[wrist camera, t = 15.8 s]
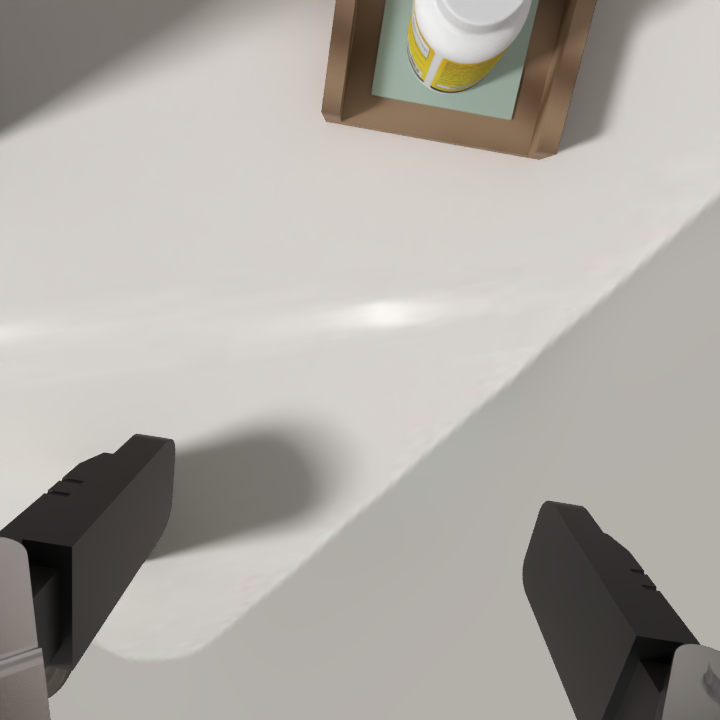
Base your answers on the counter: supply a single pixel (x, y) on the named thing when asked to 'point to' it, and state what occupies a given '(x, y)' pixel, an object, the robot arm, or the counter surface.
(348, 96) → the tray
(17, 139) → the counter surface
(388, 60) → the front pad
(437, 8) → the pill bottle
